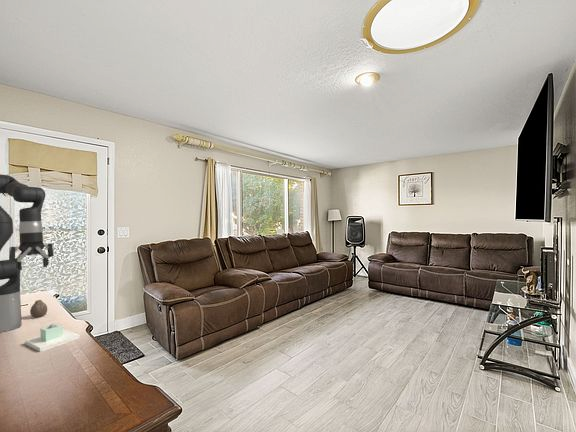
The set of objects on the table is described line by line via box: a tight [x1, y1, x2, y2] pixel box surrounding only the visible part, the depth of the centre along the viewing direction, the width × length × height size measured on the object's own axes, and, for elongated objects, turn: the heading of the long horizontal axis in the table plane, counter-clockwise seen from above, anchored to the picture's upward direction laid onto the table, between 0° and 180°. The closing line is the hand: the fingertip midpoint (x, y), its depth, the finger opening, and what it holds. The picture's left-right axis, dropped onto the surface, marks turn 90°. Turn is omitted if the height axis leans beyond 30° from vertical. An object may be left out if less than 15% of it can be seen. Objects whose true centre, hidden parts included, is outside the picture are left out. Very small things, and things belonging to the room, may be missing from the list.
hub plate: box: [24, 323, 80, 353], centre depth 116 cm, size 16×13×7 cm
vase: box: [29, 299, 48, 319], centre depth 150 cm, size 7×7×9 cm
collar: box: [39, 323, 64, 342], centre depth 116 cm, size 6×6×4 cm
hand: (32, 268), depth 121 cm, fingers open, 8 cm apart
